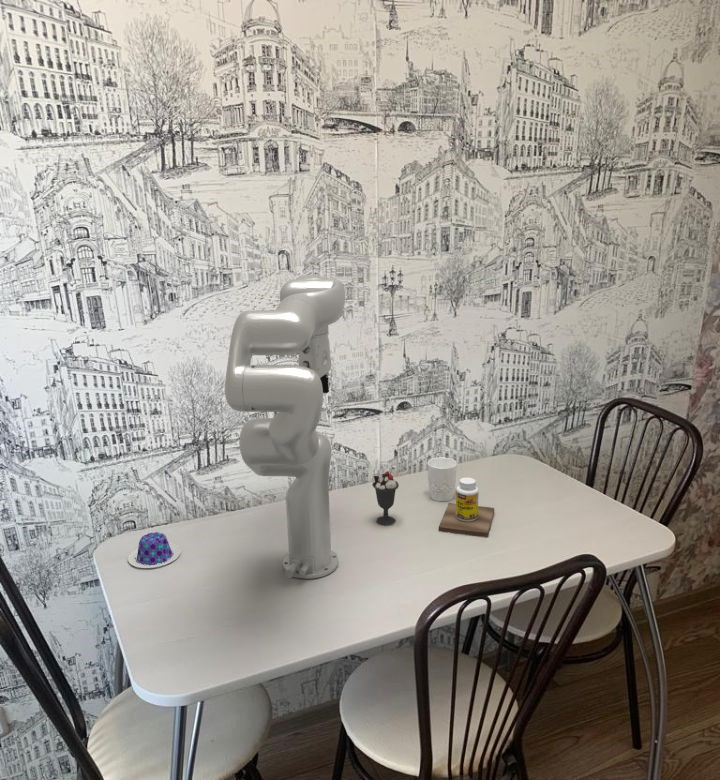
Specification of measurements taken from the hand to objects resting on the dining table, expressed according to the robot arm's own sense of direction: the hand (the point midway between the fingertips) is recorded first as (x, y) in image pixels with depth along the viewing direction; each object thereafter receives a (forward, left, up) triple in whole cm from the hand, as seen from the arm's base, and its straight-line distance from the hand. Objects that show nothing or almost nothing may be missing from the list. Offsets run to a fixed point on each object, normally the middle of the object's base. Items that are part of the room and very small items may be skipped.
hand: (315, 398), depth 166 cm
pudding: (-26, +32, -34) cm, 53 cm away
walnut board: (+10, -36, -33) cm, 50 cm away
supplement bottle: (+10, -36, -32) cm, 49 cm away
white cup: (+23, -27, -34) cm, 49 cm away
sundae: (+5, -16, -34) cm, 37 cm away
